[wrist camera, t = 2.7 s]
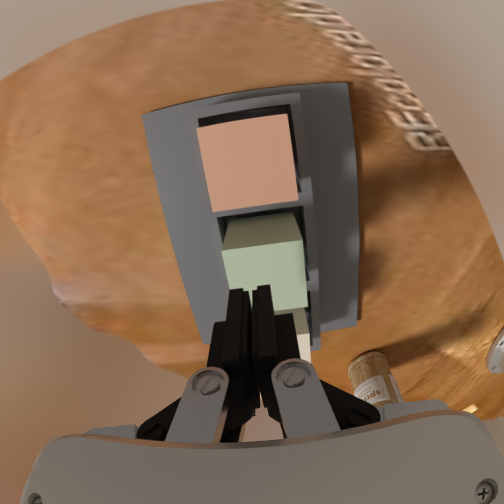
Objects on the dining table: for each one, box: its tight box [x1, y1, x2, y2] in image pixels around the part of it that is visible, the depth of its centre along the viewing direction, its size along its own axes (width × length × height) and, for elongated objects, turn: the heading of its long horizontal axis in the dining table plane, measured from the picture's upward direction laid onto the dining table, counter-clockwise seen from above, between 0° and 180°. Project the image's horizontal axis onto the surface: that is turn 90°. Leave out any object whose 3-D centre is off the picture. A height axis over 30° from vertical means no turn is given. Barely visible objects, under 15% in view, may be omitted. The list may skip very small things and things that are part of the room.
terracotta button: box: [196, 114, 298, 212], centre depth 15 cm, size 4×4×4 cm
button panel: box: [142, 83, 359, 351], centre depth 20 cm, size 14×20×4 cm
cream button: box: [274, 307, 311, 363], centre depth 20 cm, size 4×4×4 cm
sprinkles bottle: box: [348, 351, 404, 407], centre depth 22 cm, size 5×5×13 cm
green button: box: [221, 212, 308, 311], centre depth 17 cm, size 4×4×4 cm
